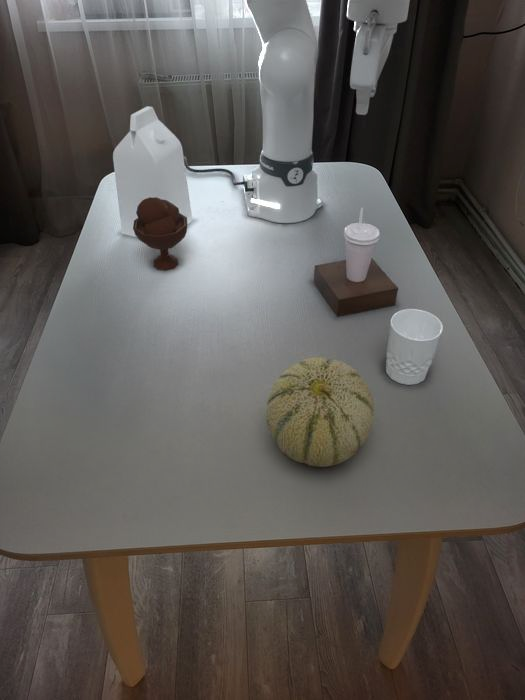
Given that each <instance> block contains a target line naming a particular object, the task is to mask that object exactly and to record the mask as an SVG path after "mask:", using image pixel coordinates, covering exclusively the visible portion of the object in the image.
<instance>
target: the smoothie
mask: <svg viewBox="0 0 525 700" xmlns="http://www.w3.org/2000/svg"><path fill="white" fill-rule="evenodd" d="M359 209H360V210H359V217H358V222H355V223H350V224H348V225H347V226H346V227H344V232H343V237H344V240H345V260H346V276H347V278H348V279H349V280H351V281H354V282H361V281H363V280H365V279H366V275H367V272H368V269H369V265H370V262H371V259H373V255H374V251H375V248H376V245H377V242H379V240H380V233H381V231H380V230H379V228H377V226H374V225H372V224H371V223H370V224H369V223H366V222H365V223H364V222H363V217H364V207H360V208H359Z"/></svg>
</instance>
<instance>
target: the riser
mask: <svg viewBox="0 0 525 700" xmlns="http://www.w3.org/2000/svg"><path fill="white" fill-rule="evenodd" d="M313 284H314V285H315V287H316V288H317V290H318V291H319V293H320V294H321V295H322V297H323V299H324V300H325V301H326V304H327V305H328V306H329V307H330V309H331V310H332V312H333V313H334V314H335V316H336V317H337V318H338V317H343V316H348V315H349V316H350V315H354V314H358V313H363V312H368V311H369V312H370V311H373V310H378V309H382V308H388V307H393V306H395V305H396V301H397V297H398V291H399V287H398V286H397V285H396V283H395V282H394V281H393V280H392V279H391V278H390V276H389V275H387V273H386V272H385V271H384V270H383V269H382V268H381V266H380V265H379V264H378V263H377V262H376V261H375V260H374V259H373V258H372V259H371V262H370V265H369V269H368V272H367V275H366V279H365V280H363V281H361V282H354V281H351V280H349V279H348V278H347V276H346V259H343V260H337V261H331V262H327V263H321V264H320V263H319V264H316V265H314V270H313Z"/></svg>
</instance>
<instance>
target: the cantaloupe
mask: <svg viewBox="0 0 525 700" xmlns="http://www.w3.org/2000/svg"><path fill="white" fill-rule="evenodd" d="M374 406H375V403H374V399H373V394H372V391H371V390H370V387H369V386H368V384H367V382H366V381H365V379H364V378H363V376H361V375H360V374H359V372H358V371H357V370H356V369H355V368H354V367H352V366H351V365H349V364H346V363H345V362H343V361H340V360H337V359H331V358H326V357H319V356H318V357H317V356H316V357H309V358H305V359H302V360H301V361H299V362H297V363H294V364H292V365H291V366H289V367H288V368H286V369H285V371H283V373H282V374H281V375H280V376H279V377H278V379H277V380H275V382H274V383H273V384H272V386H271V388H270V392H269V394H268V398H267V402H266V412H265V419H266V420H265V421H266V422H265V423H266V426H267V429H268V432H269V434H270V436H271V439H272V440H273V441H274V443H275V444H276V445H277V447H278V449H280V451H281V452H282V453H283V454H285V455H287V456H288V457H289V458H290V459H292V460H294V461H295V462H298V463H301V464H305V465H308V466H312V467H321V468H324V467H325V468H326V467H332V466H335V465H339V464H341V463H344V462H345V461H348V460H349V459H350V458H352V457H353V456H354V455H355V454H356V452H357V451H358V450H360V449H361V448H362V446H363V445H364V444H365V442H367V440H368V438H369V436H370V433H371V432H372V431H371V430H372V427H373V419H374V418H373V417H374V412H375V407H374Z"/></svg>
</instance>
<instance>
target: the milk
mask: <svg viewBox="0 0 525 700" xmlns="http://www.w3.org/2000/svg"><path fill="white" fill-rule="evenodd" d="M184 157H185V156H184V150H183V146H182V143H181V141H180V140H179V138H178V137H177V136H176V135H175V134H174V133H173V132H172V131H171V130H170V129H169V127H167V126H166V125H165V124H164V123H163V122H162V121H161V120H160V119H159V118H158V116H157V114H156V111H155V108H154V106H148V105H147V106H145V107H143V108H141V109H140V110H137V111H135V112H133V113H131V114H130V121H129V131H128V132H127V134H125V136H124V137H123V138H122V139H121V141H120V142H119V143H118V144H117V145H116V147H115V148H114V150H113V153H112V161H113V169H114V177H115V179H114V180H115V185H116V186H115V187H116V195H117V203H118V210H119V219H120V227H121V234H122V235H125V236H129V237H133V238H137V236H136V235H135V232H134V230H133V225H134V220H136V219H137V218H138V216H137V214H136V211H137V207H138V205H139V204H140V202H142V200H144V199H147V198H149V197H151V198H154V197H156V198H159V199H162V200H167V201H169V202H171V203H172V204H174V205H175V206H176V207H178V208H179V213H180V214H182V215H184V216H185V217H187V226H188V225H190V224H191V223H192V222H193V221H194V220H193V214H192V206H191V200H190V193H189V185H188V180H187V171H186V166H185V163H184Z"/></svg>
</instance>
